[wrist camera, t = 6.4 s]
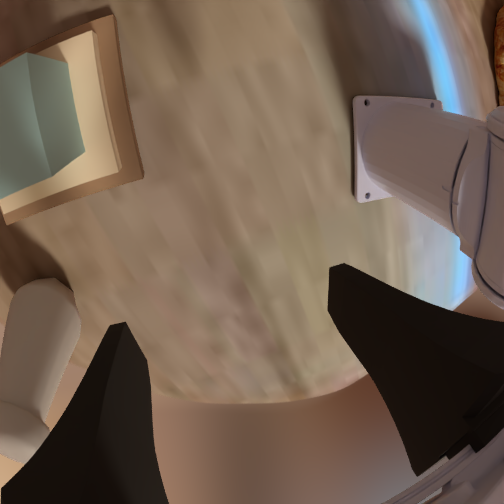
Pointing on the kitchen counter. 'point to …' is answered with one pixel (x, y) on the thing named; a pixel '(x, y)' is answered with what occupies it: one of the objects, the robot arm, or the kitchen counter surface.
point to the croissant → (499, 54)
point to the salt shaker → (34, 362)
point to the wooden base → (87, 121)
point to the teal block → (36, 122)
